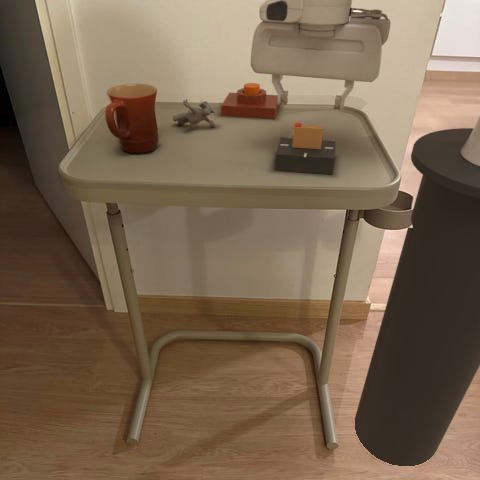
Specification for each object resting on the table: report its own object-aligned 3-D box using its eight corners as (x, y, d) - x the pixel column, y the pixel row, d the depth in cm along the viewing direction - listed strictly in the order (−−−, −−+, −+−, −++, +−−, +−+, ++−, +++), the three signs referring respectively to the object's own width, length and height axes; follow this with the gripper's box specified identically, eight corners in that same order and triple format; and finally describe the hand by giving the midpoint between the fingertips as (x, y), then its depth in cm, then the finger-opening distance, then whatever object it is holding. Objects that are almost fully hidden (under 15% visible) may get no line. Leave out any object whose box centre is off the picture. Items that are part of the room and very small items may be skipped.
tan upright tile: (321, 146, 82) (323, 124, 79) (320, 149, 81) (323, 127, 78) (292, 144, 82) (294, 122, 80) (292, 147, 81) (293, 125, 79)
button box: (279, 105, 109) (280, 86, 106) (274, 119, 102) (275, 99, 99) (229, 102, 111) (229, 84, 108) (221, 115, 103) (220, 96, 100)
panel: (333, 155, 86) (335, 138, 84) (332, 176, 80) (335, 158, 78) (279, 152, 88) (281, 135, 86) (274, 171, 81) (275, 154, 79)
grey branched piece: (194, 118, 102) (226, 110, 96) (190, 144, 101) (222, 137, 96) (161, 94, 94) (194, 84, 88) (157, 123, 93) (190, 113, 88)
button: (260, 91, 105) (260, 83, 104) (258, 96, 102) (258, 87, 101) (244, 90, 105) (245, 82, 104) (242, 95, 103) (242, 86, 101)
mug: (134, 136, 93) (126, 81, 86) (171, 144, 90) (166, 87, 83) (96, 158, 85) (84, 98, 78) (136, 166, 82) (127, 105, 75)
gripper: (393, 7, 68) (374, 106, 78) (258, 0, 72) (255, 95, 81) (392, 13, 64) (372, 118, 73) (249, 6, 68) (247, 106, 77)
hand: (310, 106), depth 77 cm, fingers open, 8 cm apart
